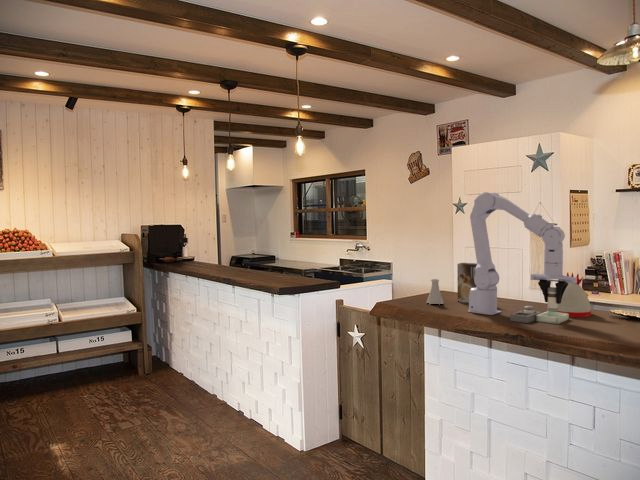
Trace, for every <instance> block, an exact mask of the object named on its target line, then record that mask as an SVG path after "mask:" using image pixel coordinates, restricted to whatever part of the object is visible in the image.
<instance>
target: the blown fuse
mask: <svg viewBox="0 0 640 480" xmlns="http://www.w3.org/2000/svg"><path fill="white" fill-rule="evenodd" d="M556 296H557V293H556V286H555V287H554V286H550V287H548V302H547V308H546V309H547V310H546V312H547V311H549V312H558V304H557V303H556Z"/></svg>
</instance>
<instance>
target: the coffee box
mask: <svg viewBox="0 0 640 480" xmlns="http://www.w3.org/2000/svg"><path fill="white" fill-rule="evenodd" d="M476 265H477V262H476V263H475V262H460V263H457V265H456V266H457V269H456V270H457V302H458V301H459V302H458V303H465V304H469V293H470V290H471V289H472V288H476V287H477V286H476V284H475V282H474V277H475V268H476Z"/></svg>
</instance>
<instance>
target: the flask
mask: <svg viewBox="0 0 640 480" xmlns="http://www.w3.org/2000/svg"><path fill="white" fill-rule="evenodd" d="M430 280H431V287H430V291H429V294H428V297H427V300H426V303H425V304H427V303H429V304H428V305H431V304H439V305H440V304H443V305H444V303H445V302H444V300H443V296H442V293H441V291H440V290H441V289H440V286H439V281H440V279H438V278H437V279H436V278H432V279H430ZM439 305H438V306H439Z"/></svg>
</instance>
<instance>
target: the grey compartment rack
mask: <svg viewBox="0 0 640 480" xmlns="http://www.w3.org/2000/svg"><path fill="white" fill-rule="evenodd" d="M541 313H542V311H536V310H535V306H533V305H524V306H523V309H522V310H519V311H516V312H513V313H510V314H509V321H511V322H518V323H524V324H529V323H532V322H535V321H536V315H538V314H541Z"/></svg>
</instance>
